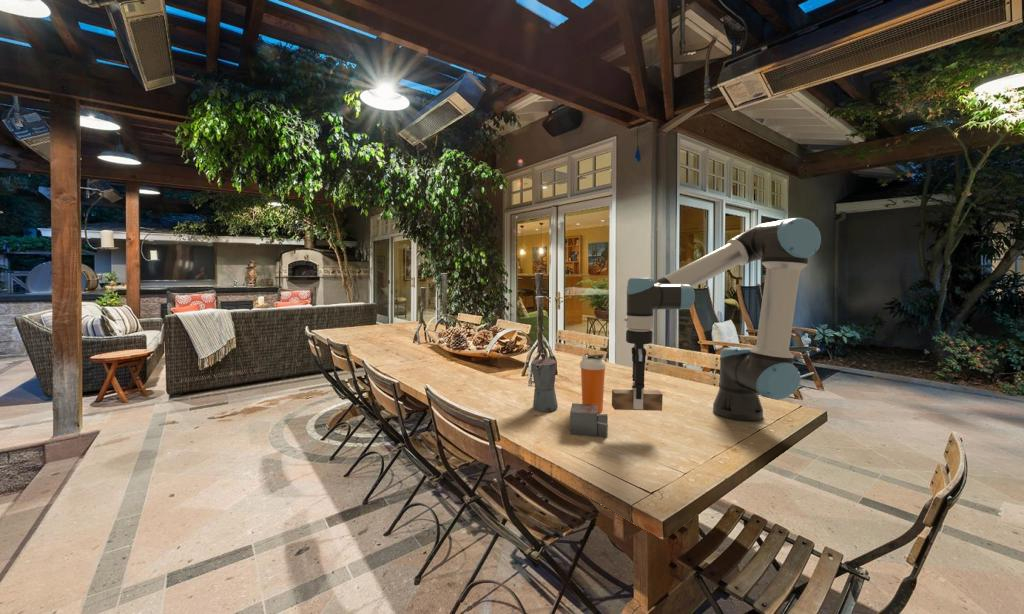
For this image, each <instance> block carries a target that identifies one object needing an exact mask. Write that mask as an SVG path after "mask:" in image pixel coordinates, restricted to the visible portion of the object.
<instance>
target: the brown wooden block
mask: <svg viewBox="0 0 1024 614" xmlns="http://www.w3.org/2000/svg"><path fill="white" fill-rule="evenodd" d="M663 395H664V394H663V393H662V392H661V391H660V390H658V389H657V390H656V389H644V390H643V410H642V411H663V399H664V398H663ZM633 398H634V390H632V389H615V388H614V389H611V406H612V408H613V410H615V411H616V410H617V411H620V410H621V411H641V410H640V409H633Z"/></svg>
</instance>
